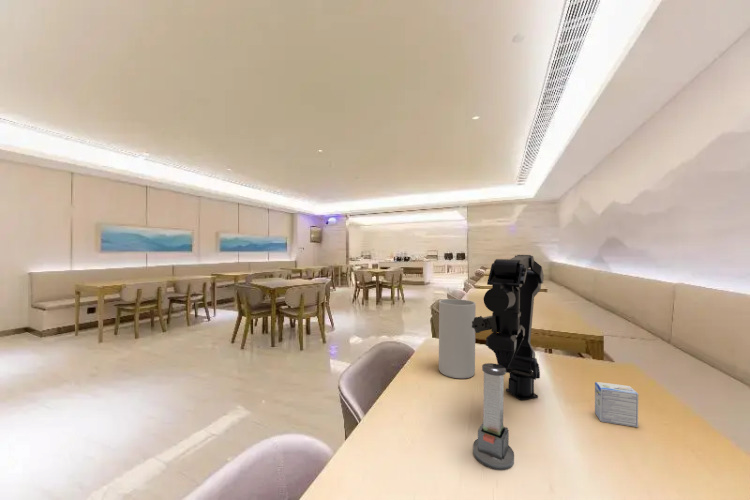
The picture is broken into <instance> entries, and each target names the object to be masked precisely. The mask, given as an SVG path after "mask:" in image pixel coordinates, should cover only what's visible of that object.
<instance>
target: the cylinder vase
mask: <svg viewBox="0 0 750 500" xmlns="http://www.w3.org/2000/svg"><path fill="white" fill-rule="evenodd" d="M438 303H439V306H438V309H439V310H438V311H439V312H438V370H439V372H440V373H441V374H442V375H444V376H446V377H447V378H453V379H469V378H471V377H473V376H475V373H476V332H475V329H474V328H472V321H473V320H474V318H475V317H476V307H477V306H476V305H477V303H476V302H475V301H474V300H473V301H472V300H467V299H459V298H458V299H457V298H455V299H454V298H450V299H448V298H447V299H439V302H438Z"/></svg>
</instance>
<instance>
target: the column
mask: <svg viewBox="0 0 750 500" xmlns="http://www.w3.org/2000/svg"><path fill="white" fill-rule="evenodd" d="M481 366H482V367H481V368H482V369H481V370H482V372H483V419H482V421H483V422H482V423H483V430H484V431H487V432H490V433H493V434H496V435H498V436H500V434H501V432H502V430H503V427H504V388H505V387H504V386H505V385H504V379H505V376H506V368H505V367H503V366H501V365H498V363H491V362H488V363H487V362H486V363H483V364H482V365H481Z"/></svg>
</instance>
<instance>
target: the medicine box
mask: <svg viewBox="0 0 750 500" xmlns="http://www.w3.org/2000/svg"><path fill="white" fill-rule="evenodd" d="M594 413H595V416H597V418H598V419H599V421H600V422H602V423H608V424H615V425H621V426H628V427H635V428H639V393H638V392H637V391H636V390H635V389H633V387H631V386H630V385H626V384H625V385H623V384H618V383H617V384H616V383H608V382H601V381H599V382H598V381H595V382H594Z"/></svg>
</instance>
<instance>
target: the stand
mask: <svg viewBox="0 0 750 500" xmlns="http://www.w3.org/2000/svg"><path fill="white" fill-rule="evenodd" d="M509 435H510V434H509V428H508V427H506V426H503V430H502V432H501V434H500V436H498V435H496V434H493V433H490V432H487V431H484V430H483V422H482V423H481V424H480V427H479V428H478V430H477V438H476V439H475V440H474V441H473V444H472V454H473V456H474V459H475V460H476V461H477V462H478V463H480V464H481V465H483V466H484V467H486V468H489V469H492V470H497V471H505V470H506V471H507V470H509V469H511V468H513V466H514V464H515V453H514V450H513V449H512V447H511V446H510V444H509V443H510V442H509V437H510V436H509Z"/></svg>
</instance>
